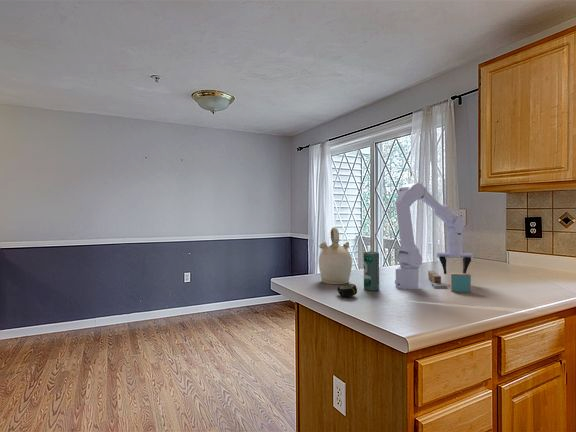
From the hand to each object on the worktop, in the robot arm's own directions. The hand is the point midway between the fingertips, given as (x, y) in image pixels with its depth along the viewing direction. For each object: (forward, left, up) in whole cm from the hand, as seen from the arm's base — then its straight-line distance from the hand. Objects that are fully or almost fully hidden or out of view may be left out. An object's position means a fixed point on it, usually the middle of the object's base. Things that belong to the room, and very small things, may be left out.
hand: (454, 274), depth 151 cm
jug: (-51, -10, -4) cm, 52 cm away
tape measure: (-41, -32, -4) cm, 52 cm away
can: (-34, -20, -4) cm, 40 cm away
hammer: (-8, -2, -4) cm, 9 cm away
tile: (0, -15, -4) cm, 15 cm away
